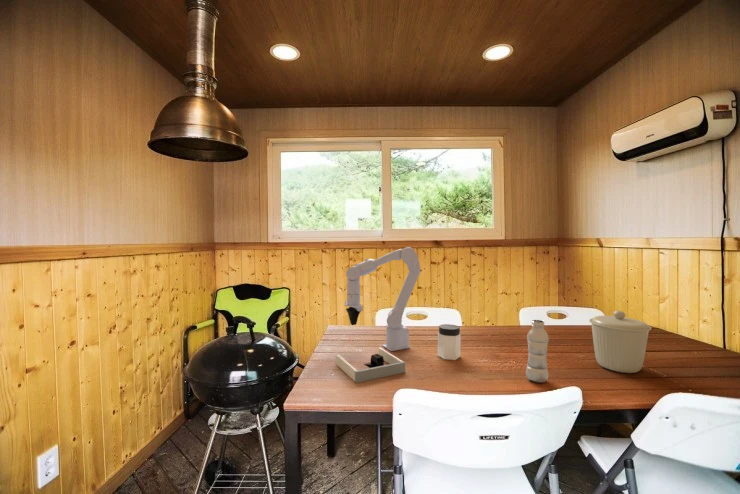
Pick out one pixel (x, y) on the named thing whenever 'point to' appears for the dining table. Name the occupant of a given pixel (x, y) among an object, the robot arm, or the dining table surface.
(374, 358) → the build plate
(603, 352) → the canister
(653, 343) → the dining table surface
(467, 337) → the dining table surface
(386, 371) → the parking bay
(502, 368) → the dining table surface
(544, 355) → the plastic bottle
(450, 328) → the jar
